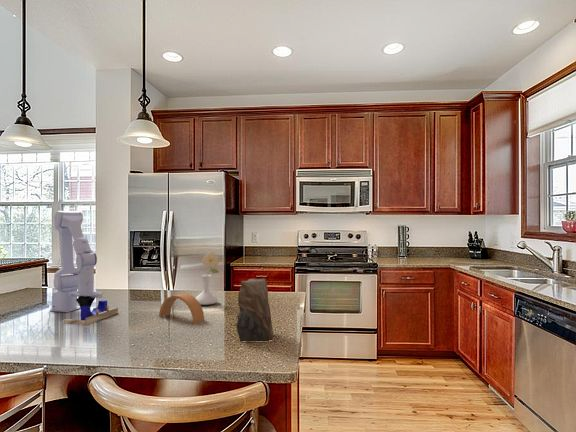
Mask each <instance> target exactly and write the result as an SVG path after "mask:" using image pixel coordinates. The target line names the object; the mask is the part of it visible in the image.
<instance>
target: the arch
mask: <svg viewBox="0 0 576 432" xmlns="http://www.w3.org/2000/svg"><path fill="white" fill-rule="evenodd" d="M176 300H181V301H182V302H184V304H185V305H187V307H188V309H189V312H190V313H191V316H192V325H193V324H194V325H196V324H198V323H201V322H205V314H204V313H205V312H204V310H203V307H202V305H200V303H199V302H198V300H197V299H196V296H193V295H192V294H189V293H179V294H175V295H171V296H168V297H167V298H166V299H165V300H164V301H163V302H162V304H161V306H160V308H159V315H158V317H159V318H163V317H165V316H169V315H171V313H172V308H173V305H174V303H175V301H176Z"/></svg>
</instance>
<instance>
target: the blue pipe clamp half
mask: <svg viewBox="0 0 576 432" xmlns="http://www.w3.org/2000/svg"><path fill="white" fill-rule="evenodd" d="M107 306H108V300H107V299H106V300H105V299H100V300H98V303H97V306H96V307H94V308H93V309H91V307H90V306H81V308H80V319H79V320H84V321H85V318H87V317H90V316H93V315H96V309H98V314H99V313H101V312H104V311H107Z"/></svg>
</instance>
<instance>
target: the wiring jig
mask: <svg viewBox="0 0 576 432" xmlns="http://www.w3.org/2000/svg"><path fill="white" fill-rule="evenodd" d="M116 314H119V307H113V308H110V306H109V305H107V311H104V312H101V313H99V314H98V309H96V315H93V316H90V317H87V318H85V321H84V320H80V319H69V318H63V321H62V322H64V323H66V324H74V325H75V324H76V325H90V324H92V323H95V322H98V321H101V320H103V319H105V318H106V319H107V318H109V317H111V316H114V315H116Z"/></svg>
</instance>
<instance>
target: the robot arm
mask: <svg viewBox="0 0 576 432" xmlns="http://www.w3.org/2000/svg"><path fill="white" fill-rule="evenodd" d="M53 220H54V221H53V222H54V230H55V231H57V232H58V234H59V235H58V236H59V237H58V238H59V251H60V252H59V254H60V255H59V256H60V268H59V269H58V270H56V271H55V273H54V275H53V277H54V278H53V287H54V291H53V292H52V296H51V309H50V310H49V311H50V312H60V313H70V312H73V311H76V310H81V306H90V308H91V307H92V304H93V303H94V302H95V299H102V298H104V297H103V295H104V294H103V292H100V291H99V292H98V291H95V289H94V288H95V284H94V283H95V267H96V265H97V264H98V263H97V261H98V257H97V254H96V252H95V251H94V250H92V249H91V248H92V247H91V246H90V243H89V241H88V240H89V239H87V238H85V237H84V234H83V229H82V224H83V220H84V215H83V213H82V212H81V211H80V210H76V211H74V210H72V211H71V210H57V211H55V213H54V217H53ZM73 240H74V241H73ZM74 252H75V255H76V257H75V260H74ZM74 261H75V262H74ZM75 265H76V267H75ZM78 305H79V306H78Z"/></svg>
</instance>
